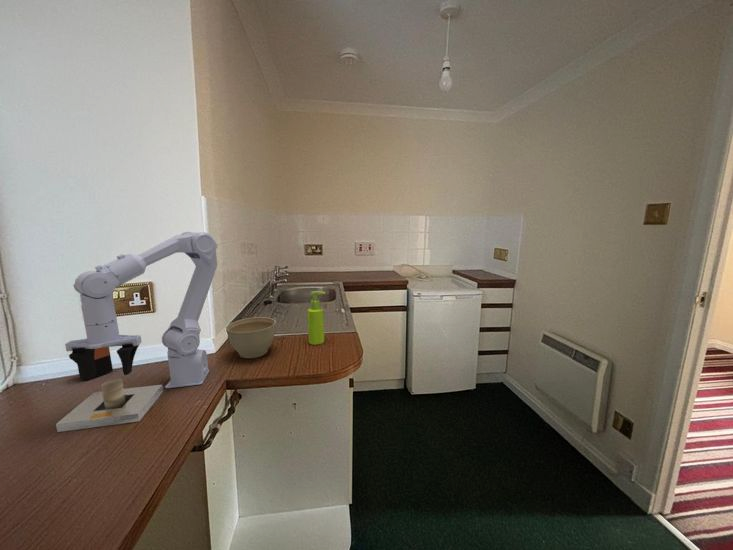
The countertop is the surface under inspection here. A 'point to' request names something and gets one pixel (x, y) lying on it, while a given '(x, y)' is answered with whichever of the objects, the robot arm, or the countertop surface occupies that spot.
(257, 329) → the planter bowl
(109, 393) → the barrel peg
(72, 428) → the light grey flat block
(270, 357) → the countertop surface
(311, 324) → the soap dispenser
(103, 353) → the battery
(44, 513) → the countertop surface
